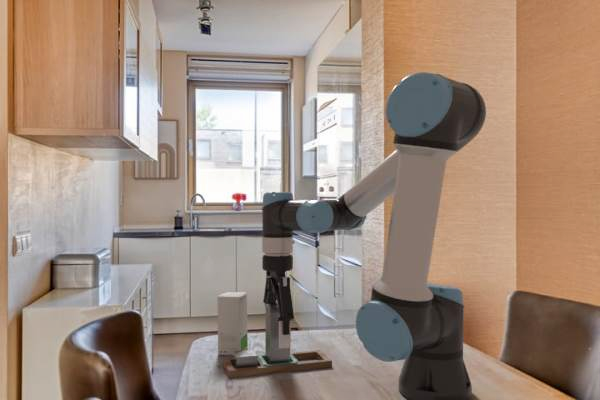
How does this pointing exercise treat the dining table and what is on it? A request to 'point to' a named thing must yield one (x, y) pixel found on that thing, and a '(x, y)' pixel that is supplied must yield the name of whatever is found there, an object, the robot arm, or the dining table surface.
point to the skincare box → (232, 323)
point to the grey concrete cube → (245, 359)
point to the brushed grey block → (274, 337)
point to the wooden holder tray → (280, 364)
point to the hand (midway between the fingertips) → (277, 340)
